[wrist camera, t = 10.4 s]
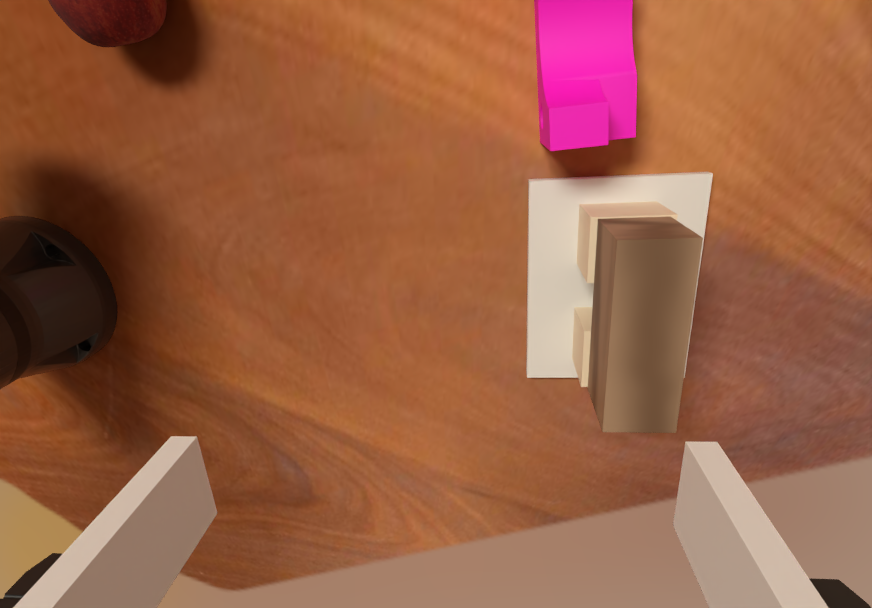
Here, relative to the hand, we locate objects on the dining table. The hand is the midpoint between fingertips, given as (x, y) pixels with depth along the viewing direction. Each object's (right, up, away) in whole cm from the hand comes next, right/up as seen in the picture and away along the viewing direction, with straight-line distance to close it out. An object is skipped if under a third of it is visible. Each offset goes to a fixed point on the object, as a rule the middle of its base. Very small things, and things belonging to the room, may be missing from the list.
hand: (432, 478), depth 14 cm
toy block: (+11, +25, +24) cm, 37 cm away
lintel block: (+15, +4, +25) cm, 30 cm away
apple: (-23, +29, +26) cm, 45 cm away
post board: (+15, +7, +31) cm, 35 cm away
